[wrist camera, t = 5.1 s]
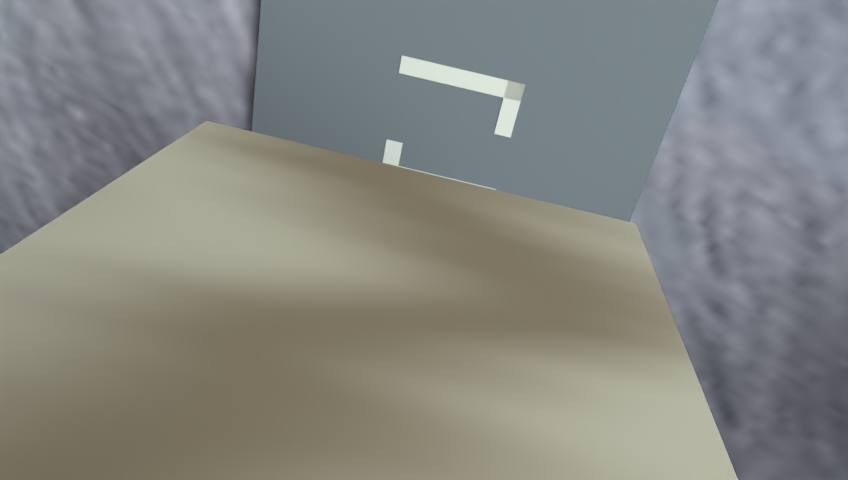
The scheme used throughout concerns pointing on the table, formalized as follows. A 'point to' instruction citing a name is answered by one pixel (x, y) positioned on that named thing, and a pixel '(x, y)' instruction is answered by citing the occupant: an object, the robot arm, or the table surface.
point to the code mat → (484, 88)
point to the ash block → (338, 331)
